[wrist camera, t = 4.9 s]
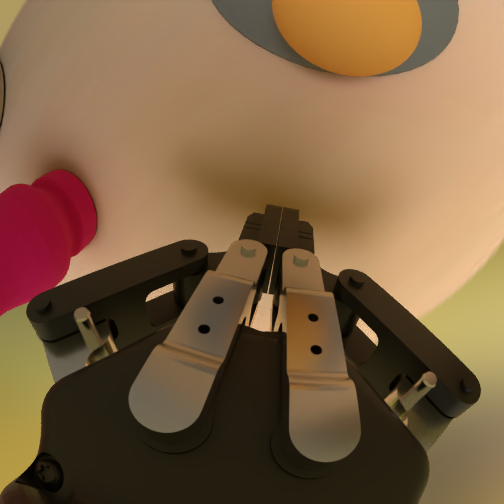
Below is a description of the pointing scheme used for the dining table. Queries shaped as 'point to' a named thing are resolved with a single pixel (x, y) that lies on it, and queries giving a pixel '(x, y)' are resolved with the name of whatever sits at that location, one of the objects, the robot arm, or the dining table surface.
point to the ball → (350, 33)
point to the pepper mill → (41, 234)
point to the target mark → (269, 37)
